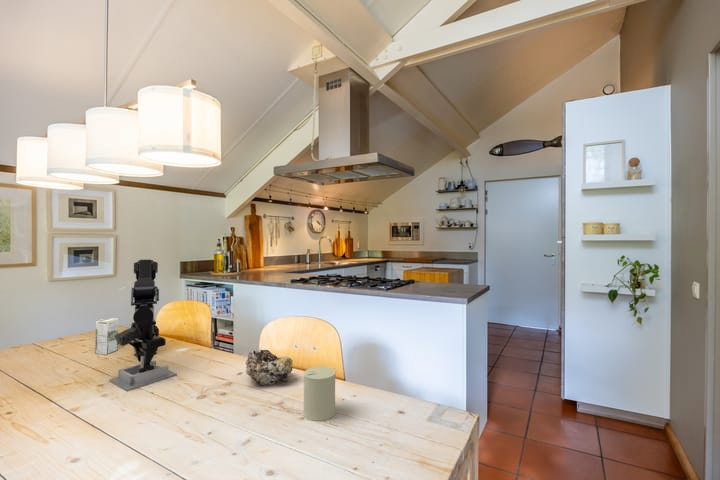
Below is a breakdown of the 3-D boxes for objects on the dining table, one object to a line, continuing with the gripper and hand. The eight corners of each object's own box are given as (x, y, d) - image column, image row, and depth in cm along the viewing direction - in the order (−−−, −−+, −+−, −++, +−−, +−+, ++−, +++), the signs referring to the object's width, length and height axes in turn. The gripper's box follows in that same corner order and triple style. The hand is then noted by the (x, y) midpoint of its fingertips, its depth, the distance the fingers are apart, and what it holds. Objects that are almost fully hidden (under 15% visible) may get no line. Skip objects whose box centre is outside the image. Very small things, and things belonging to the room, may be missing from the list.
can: (299, 408, 99) (300, 367, 99) (329, 402, 103) (330, 363, 103) (307, 424, 91) (308, 379, 91) (340, 417, 94) (340, 374, 94)
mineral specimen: (257, 370, 128) (257, 344, 128) (300, 376, 123) (300, 348, 123) (231, 387, 113) (231, 357, 113) (278, 394, 108) (279, 363, 108)
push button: (140, 380, 116) (141, 351, 116) (129, 377, 118) (130, 348, 118) (157, 373, 122) (158, 345, 122) (147, 370, 124) (148, 343, 124)
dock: (109, 381, 117) (109, 370, 117) (157, 367, 130) (157, 357, 130) (127, 391, 109) (127, 380, 109) (176, 375, 123) (177, 365, 123)
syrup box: (106, 349, 150) (107, 317, 150) (118, 350, 150) (118, 317, 150) (94, 354, 145) (95, 320, 145) (107, 354, 144) (107, 320, 144)
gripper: (106, 319, 118) (106, 364, 118) (130, 327, 108) (130, 376, 108) (141, 314, 128) (141, 355, 128) (166, 321, 117) (166, 366, 117)
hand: (143, 363), depth 120 cm, fingers closed on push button, 5 cm apart
